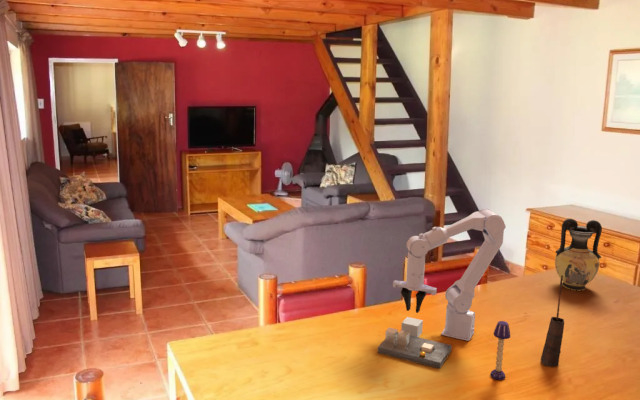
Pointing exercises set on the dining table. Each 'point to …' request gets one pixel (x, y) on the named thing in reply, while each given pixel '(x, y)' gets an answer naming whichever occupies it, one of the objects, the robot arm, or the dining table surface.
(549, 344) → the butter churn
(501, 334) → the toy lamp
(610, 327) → the dining table surface
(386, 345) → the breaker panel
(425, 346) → the button
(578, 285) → the amphora
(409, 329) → the cap
